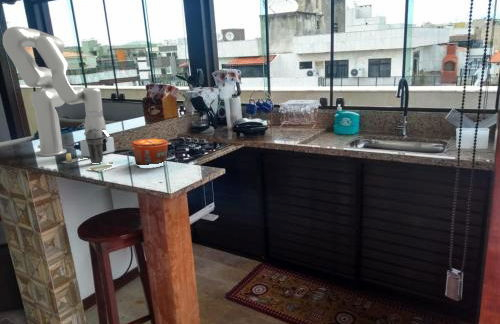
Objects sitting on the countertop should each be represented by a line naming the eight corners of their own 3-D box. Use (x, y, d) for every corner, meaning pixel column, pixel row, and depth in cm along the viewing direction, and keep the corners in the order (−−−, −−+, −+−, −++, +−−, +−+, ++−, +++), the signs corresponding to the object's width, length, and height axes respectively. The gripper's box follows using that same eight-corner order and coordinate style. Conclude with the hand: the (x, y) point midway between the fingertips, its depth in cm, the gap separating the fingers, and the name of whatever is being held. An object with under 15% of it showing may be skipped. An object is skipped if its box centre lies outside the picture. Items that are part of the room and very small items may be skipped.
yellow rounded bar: (61, 162, 164) (59, 154, 163) (82, 157, 174) (81, 149, 173) (68, 164, 162) (67, 155, 161) (90, 158, 172) (89, 150, 171)
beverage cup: (109, 161, 166) (104, 118, 161) (98, 165, 159) (93, 120, 154) (95, 160, 168) (90, 117, 163) (84, 164, 161) (79, 119, 156)
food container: (177, 163, 163) (176, 140, 161) (149, 172, 150) (148, 146, 148) (152, 159, 172) (151, 136, 169) (124, 166, 159) (122, 142, 156)
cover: (81, 155, 175) (79, 141, 173) (104, 149, 187) (103, 136, 185) (91, 157, 172) (90, 142, 170) (114, 151, 184) (113, 137, 182)
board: (86, 170, 153) (86, 168, 152) (119, 160, 168) (119, 158, 168) (100, 172, 149) (100, 170, 149) (132, 162, 165) (132, 160, 164)
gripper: (75, 113, 175) (79, 150, 179) (101, 116, 167) (104, 154, 172) (88, 112, 181) (91, 147, 186) (113, 114, 174) (117, 150, 178)
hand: (98, 150), depth 179 cm, fingers closed on cover, 7 cm apart
